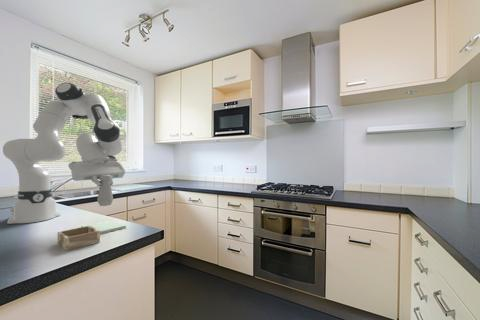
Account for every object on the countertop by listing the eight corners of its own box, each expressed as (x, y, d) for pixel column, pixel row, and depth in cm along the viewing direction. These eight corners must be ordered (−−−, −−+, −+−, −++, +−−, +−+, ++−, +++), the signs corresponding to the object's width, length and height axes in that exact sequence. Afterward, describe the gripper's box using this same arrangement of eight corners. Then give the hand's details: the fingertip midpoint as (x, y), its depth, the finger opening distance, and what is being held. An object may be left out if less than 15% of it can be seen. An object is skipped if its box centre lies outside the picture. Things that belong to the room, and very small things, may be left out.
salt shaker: (93, 205, 91) (93, 175, 91) (106, 203, 97) (106, 174, 97) (103, 206, 89) (103, 175, 89) (116, 204, 94) (116, 174, 94)
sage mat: (81, 228, 92) (81, 226, 92) (111, 221, 101) (111, 219, 101) (94, 235, 83) (94, 233, 83) (126, 227, 93) (126, 225, 93)
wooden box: (57, 243, 75) (57, 232, 75) (89, 236, 83) (89, 225, 83) (66, 250, 69) (66, 238, 69) (99, 241, 77) (99, 230, 77)
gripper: (69, 156, 88) (79, 182, 83) (120, 156, 105) (131, 178, 100) (65, 167, 90) (74, 192, 85) (115, 165, 107) (126, 187, 102)
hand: (105, 184), depth 92 cm, fingers closed on salt shaker, 3 cm apart
